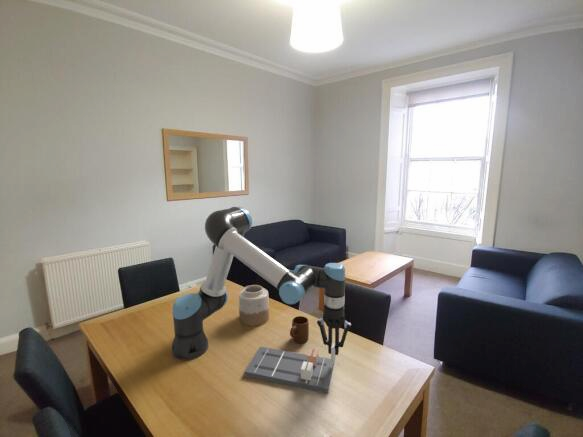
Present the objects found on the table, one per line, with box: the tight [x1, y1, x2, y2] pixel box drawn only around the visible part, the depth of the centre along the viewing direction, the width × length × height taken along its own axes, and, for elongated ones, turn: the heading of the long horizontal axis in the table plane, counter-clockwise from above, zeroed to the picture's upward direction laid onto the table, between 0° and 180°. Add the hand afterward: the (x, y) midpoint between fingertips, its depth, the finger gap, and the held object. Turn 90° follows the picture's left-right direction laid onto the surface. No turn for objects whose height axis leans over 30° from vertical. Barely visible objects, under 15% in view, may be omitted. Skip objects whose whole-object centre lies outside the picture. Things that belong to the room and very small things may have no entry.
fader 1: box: [301, 361, 313, 380], centre depth 108 cm, size 4×4×4 cm
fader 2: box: [306, 348, 319, 366], centre depth 116 cm, size 4×4×4 cm
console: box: [243, 346, 335, 394], centre depth 115 cm, size 32×16×2 cm, turn 74°
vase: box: [238, 284, 270, 327], centre depth 151 cm, size 15×15×17 cm
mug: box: [289, 315, 310, 344], centre depth 132 cm, size 12×8×9 cm, turn 148°
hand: (333, 361), depth 113 cm, fingers closed
